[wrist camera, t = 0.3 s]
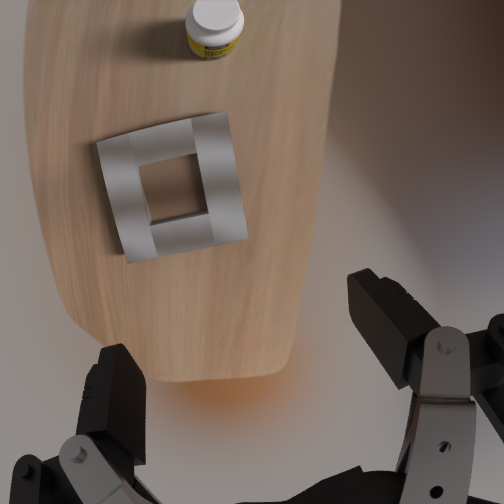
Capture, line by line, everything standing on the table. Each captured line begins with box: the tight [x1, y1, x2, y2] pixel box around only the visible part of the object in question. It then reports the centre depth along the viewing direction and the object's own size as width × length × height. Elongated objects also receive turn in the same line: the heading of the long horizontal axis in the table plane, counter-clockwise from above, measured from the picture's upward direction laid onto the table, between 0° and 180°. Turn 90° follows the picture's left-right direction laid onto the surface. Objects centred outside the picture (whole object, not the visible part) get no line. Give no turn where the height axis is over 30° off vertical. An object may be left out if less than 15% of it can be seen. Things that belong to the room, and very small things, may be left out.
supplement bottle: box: [185, 0, 244, 60], centre depth 25 cm, size 5×5×10 cm
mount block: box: [96, 111, 249, 264], centre depth 34 cm, size 14×14×3 cm
